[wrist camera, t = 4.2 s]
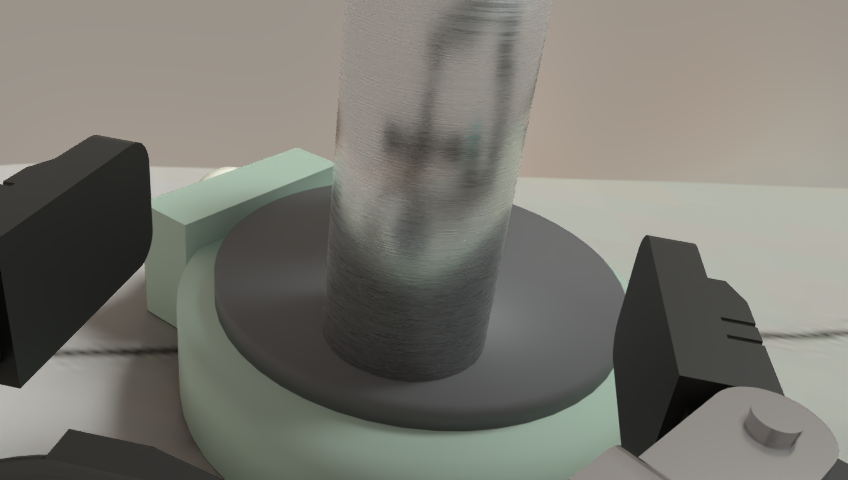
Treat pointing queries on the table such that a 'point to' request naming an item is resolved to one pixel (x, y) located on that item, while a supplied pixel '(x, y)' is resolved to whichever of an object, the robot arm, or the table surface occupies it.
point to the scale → (352, 388)
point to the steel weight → (425, 177)
